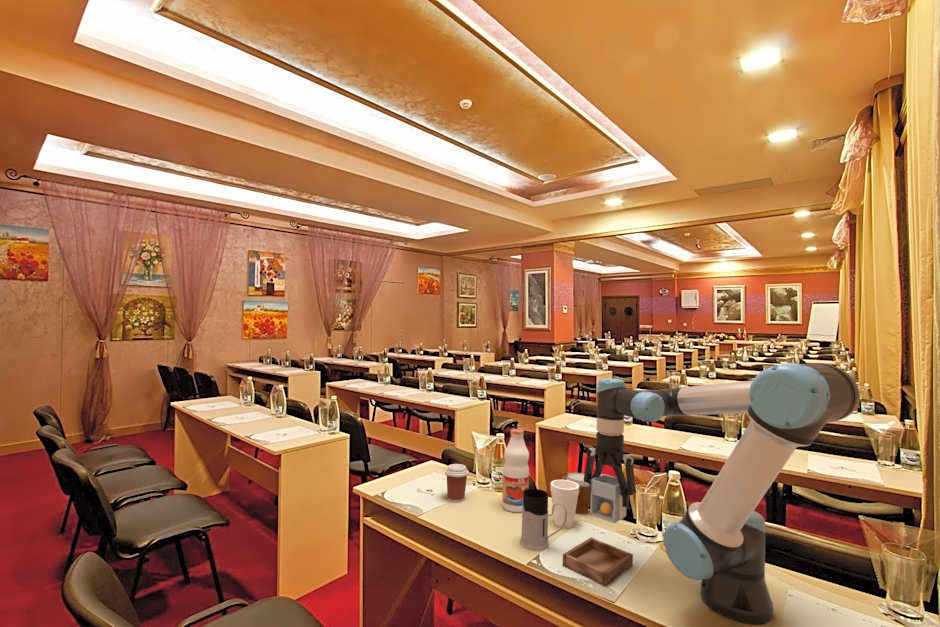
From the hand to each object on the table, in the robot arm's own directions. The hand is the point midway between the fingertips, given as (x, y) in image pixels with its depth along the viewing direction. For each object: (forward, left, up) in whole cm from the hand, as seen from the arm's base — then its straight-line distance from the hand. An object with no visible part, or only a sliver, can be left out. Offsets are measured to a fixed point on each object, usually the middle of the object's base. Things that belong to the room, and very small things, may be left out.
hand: (608, 512), depth 126 cm
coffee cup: (+55, +24, -13) cm, 62 cm away
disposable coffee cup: (+30, -14, -13) cm, 36 cm away
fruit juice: (+40, +7, -13) cm, 43 cm away
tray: (-2, +5, -13) cm, 14 cm away
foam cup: (+23, -2, -13) cm, 27 cm away
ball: (0, 0, 0) cm, 0 cm away
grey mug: (+13, +13, -13) cm, 23 cm away
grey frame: (0, 0, -1) cm, 1 cm away
